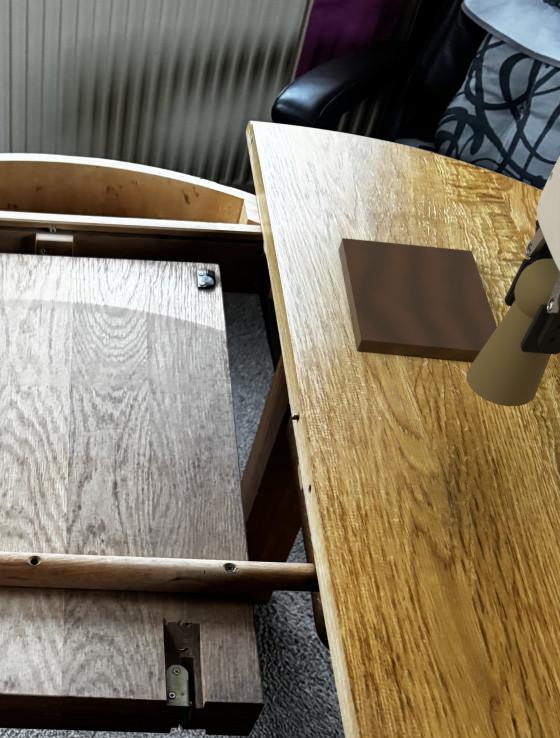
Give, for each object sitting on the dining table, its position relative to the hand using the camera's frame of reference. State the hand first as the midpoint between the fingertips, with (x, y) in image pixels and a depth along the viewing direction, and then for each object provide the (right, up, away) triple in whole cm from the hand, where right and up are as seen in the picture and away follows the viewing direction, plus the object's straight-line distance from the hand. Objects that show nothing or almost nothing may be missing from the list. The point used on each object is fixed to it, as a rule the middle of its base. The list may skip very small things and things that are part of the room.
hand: (531, 325), depth 76 cm
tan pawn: (0, -4, +5) cm, 6 cm away
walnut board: (+2, +13, +32) cm, 35 cm away
